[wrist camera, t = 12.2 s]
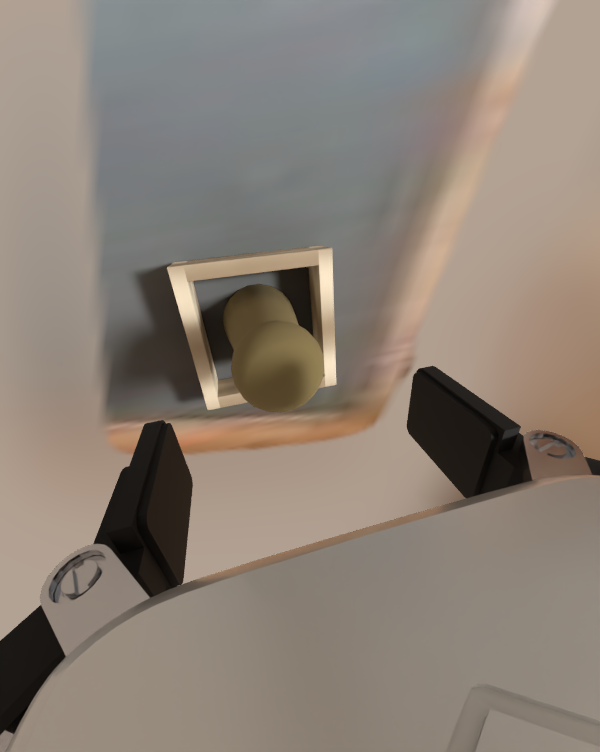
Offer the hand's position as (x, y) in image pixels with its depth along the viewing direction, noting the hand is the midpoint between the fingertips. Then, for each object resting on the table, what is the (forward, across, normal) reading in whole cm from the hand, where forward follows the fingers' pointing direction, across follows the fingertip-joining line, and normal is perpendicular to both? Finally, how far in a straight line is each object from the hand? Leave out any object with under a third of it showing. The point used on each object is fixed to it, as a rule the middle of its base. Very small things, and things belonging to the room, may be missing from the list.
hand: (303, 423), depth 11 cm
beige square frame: (+15, 0, +1) cm, 15 cm away
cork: (+15, 0, +1) cm, 15 cm away
